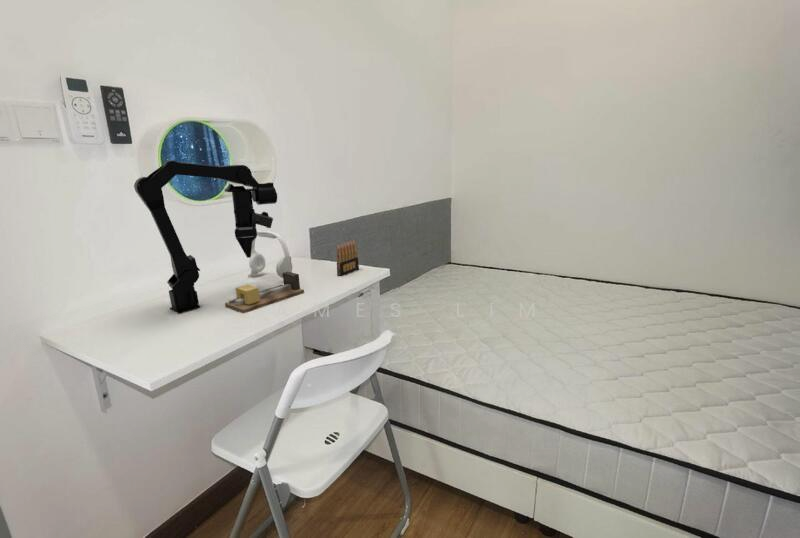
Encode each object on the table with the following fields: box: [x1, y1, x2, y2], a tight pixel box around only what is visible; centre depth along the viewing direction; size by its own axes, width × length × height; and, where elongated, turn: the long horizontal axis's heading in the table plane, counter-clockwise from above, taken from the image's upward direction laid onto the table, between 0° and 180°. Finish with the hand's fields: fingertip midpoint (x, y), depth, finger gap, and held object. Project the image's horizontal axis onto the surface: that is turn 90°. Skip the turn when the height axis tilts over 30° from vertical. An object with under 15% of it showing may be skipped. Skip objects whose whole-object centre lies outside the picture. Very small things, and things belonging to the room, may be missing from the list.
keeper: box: [235, 283, 260, 305], centre depth 126 cm, size 4×6×4 cm, turn 51°
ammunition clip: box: [336, 239, 360, 277], centre depth 156 cm, size 11×2×12 cm, turn 146°
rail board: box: [224, 272, 305, 314], centre depth 130 cm, size 22×10×6 cm, turn 141°
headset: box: [247, 230, 293, 279], centre depth 152 cm, size 20×7×18 cm, turn 56°
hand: (248, 254), depth 134 cm, fingers open, 9 cm apart
